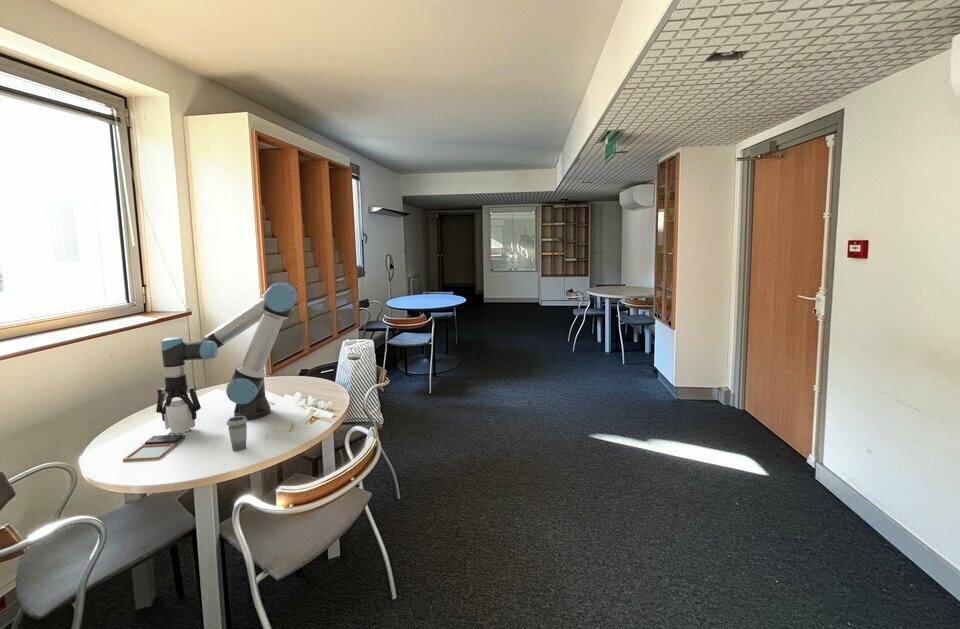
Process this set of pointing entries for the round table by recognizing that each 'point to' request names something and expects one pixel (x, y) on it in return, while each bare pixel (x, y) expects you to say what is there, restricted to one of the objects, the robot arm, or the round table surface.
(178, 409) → the cup
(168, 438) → the ink pad
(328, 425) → the round table surface
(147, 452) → the print frame
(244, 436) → the cup
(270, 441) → the round table surface
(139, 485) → the round table surface
